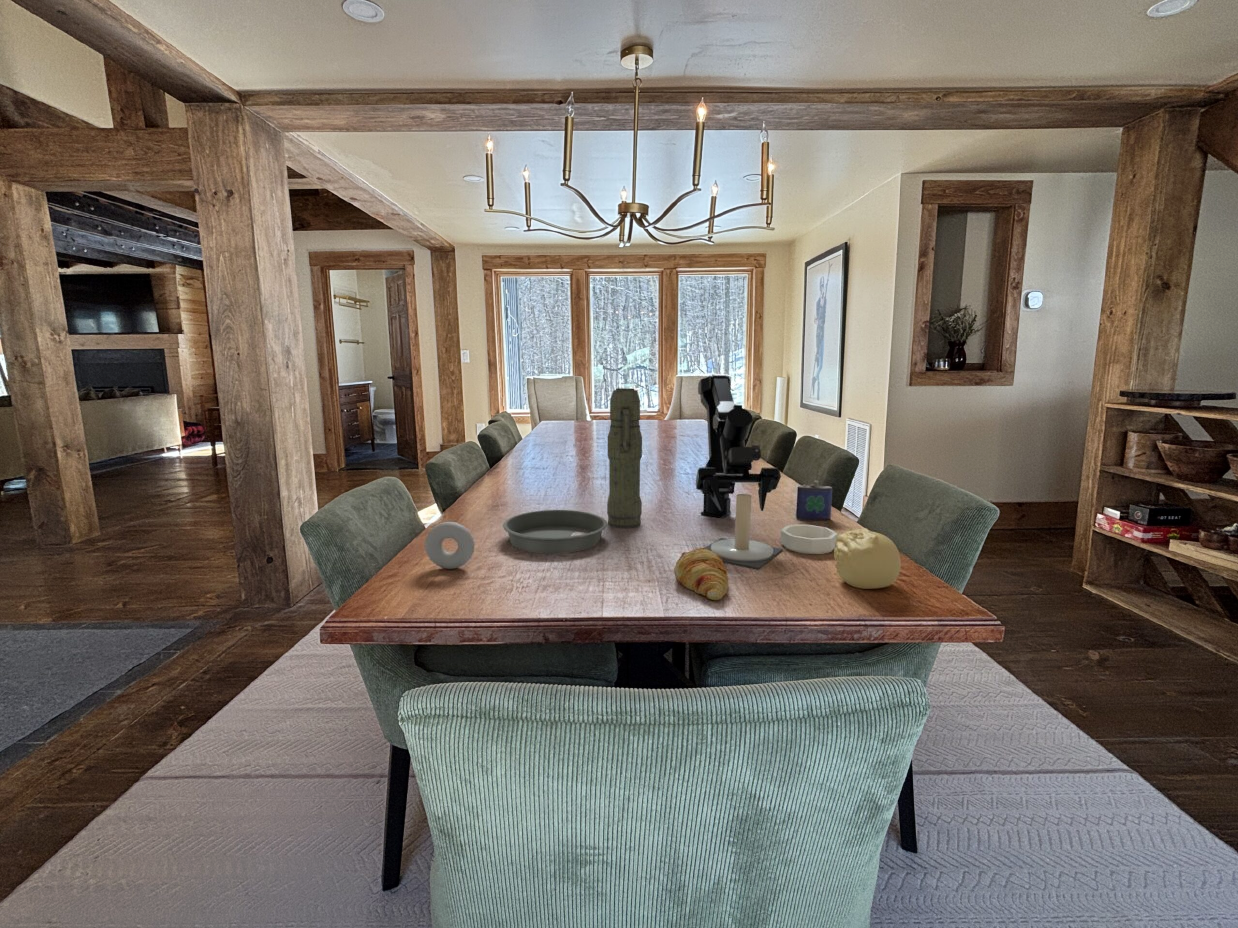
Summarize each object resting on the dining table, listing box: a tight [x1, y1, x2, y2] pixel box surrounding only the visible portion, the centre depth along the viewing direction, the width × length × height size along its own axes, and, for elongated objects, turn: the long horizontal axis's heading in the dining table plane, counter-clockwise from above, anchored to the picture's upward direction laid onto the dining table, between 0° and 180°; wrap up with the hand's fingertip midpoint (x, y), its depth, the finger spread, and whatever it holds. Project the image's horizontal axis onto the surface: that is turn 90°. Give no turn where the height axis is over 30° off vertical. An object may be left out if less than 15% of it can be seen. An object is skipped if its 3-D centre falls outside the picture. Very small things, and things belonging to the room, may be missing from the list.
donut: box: [424, 521, 475, 570], centre depth 127 cm, size 10×3×10 cm, turn 92°
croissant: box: [673, 547, 729, 601], centre depth 120 cm, size 21×10×8 cm, turn 11°
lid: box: [711, 493, 773, 561], centre depth 137 cm, size 14×14×13 cm
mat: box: [704, 537, 784, 570], centre depth 138 cm, size 15×15×1 cm
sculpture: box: [833, 527, 902, 590], centre depth 119 cm, size 11×12×11 cm
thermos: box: [606, 387, 643, 529], centre depth 159 cm, size 9×12×35 cm
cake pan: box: [502, 509, 608, 554], centre depth 147 cm, size 25×25×4 cm
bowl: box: [779, 523, 839, 555], centre depth 142 cm, size 12×12×4 cm
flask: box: [795, 479, 833, 521], centre depth 166 cm, size 9×3×11 cm, turn 88°
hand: (741, 510), depth 138 cm, fingers open, 9 cm apart
